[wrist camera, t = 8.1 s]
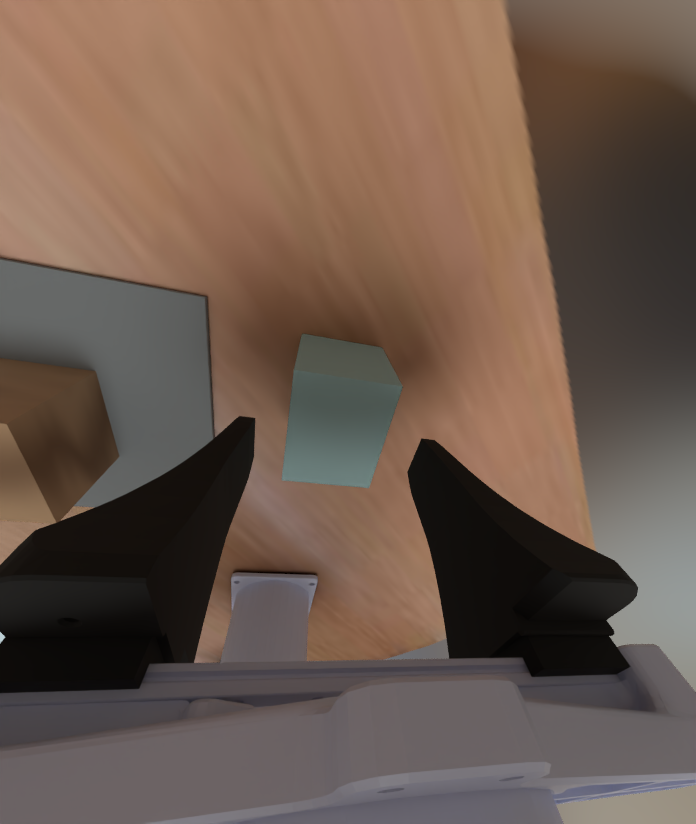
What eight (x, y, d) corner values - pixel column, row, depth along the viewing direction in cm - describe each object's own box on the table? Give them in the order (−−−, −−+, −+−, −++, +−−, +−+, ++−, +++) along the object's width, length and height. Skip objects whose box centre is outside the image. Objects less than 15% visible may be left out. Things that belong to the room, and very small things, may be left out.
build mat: (218, 512, 22) (216, 516, 22) (-29, 495, 19) (-36, 500, 19) (206, 296, 14) (203, 298, 13) (-223, 216, 11) (-241, 215, 11)
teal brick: (358, 432, 19) (368, 487, 15) (291, 423, 18) (281, 480, 14) (381, 347, 16) (402, 386, 12) (302, 332, 15) (293, 369, 11)
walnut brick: (119, 456, 18) (56, 524, 14) (38, 448, 17) (-55, 517, 13) (95, 371, 15) (6, 423, 11) (-5, 357, 14) (-142, 408, 10)
